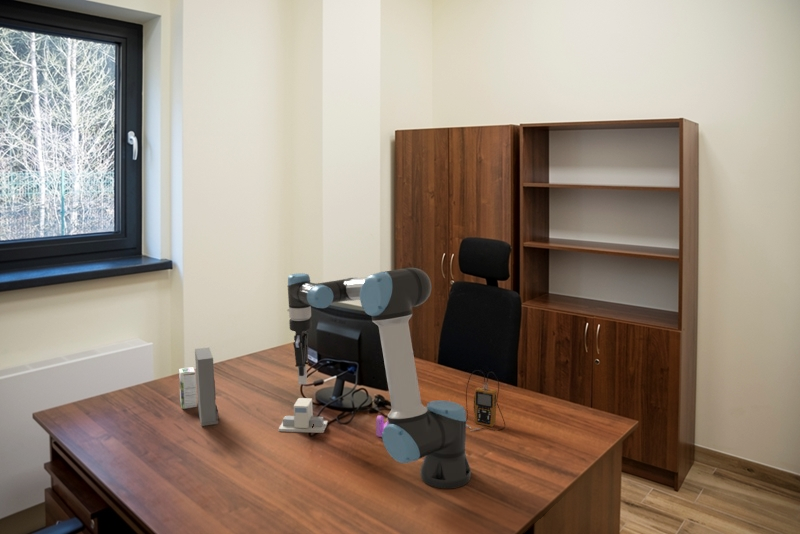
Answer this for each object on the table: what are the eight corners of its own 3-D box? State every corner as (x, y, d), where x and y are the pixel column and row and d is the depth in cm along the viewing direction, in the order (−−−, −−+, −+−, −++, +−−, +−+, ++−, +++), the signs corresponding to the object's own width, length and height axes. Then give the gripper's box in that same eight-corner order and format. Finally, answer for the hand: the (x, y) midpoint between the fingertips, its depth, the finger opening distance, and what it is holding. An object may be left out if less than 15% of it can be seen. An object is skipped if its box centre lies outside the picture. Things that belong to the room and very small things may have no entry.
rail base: (327, 423, 236) (327, 414, 236) (323, 432, 228) (323, 423, 228) (284, 422, 237) (283, 413, 237) (278, 431, 230) (278, 422, 229)
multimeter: (456, 429, 231) (457, 375, 228) (467, 419, 240) (468, 367, 236) (496, 437, 225) (497, 382, 221) (505, 426, 233) (507, 373, 230)
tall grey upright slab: (219, 424, 236) (215, 357, 231) (201, 426, 233) (197, 360, 229) (214, 410, 248) (211, 347, 244) (198, 412, 246) (194, 348, 242)
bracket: (391, 438, 224) (391, 419, 223) (376, 436, 226) (375, 417, 224) (403, 424, 236) (403, 405, 235) (389, 422, 238) (389, 403, 237)
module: (312, 419, 236) (312, 398, 235) (308, 428, 229) (307, 406, 227) (299, 418, 236) (298, 398, 235) (294, 427, 229) (293, 406, 228)
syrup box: (180, 404, 254) (177, 368, 252) (195, 401, 257) (193, 366, 254) (181, 409, 249) (179, 373, 246) (197, 406, 252) (195, 370, 249)
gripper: (294, 313, 232) (296, 377, 236) (284, 322, 220) (287, 389, 223) (314, 313, 232) (316, 377, 236) (306, 323, 219) (309, 390, 223)
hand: (302, 383), depth 230 cm, fingers closed
